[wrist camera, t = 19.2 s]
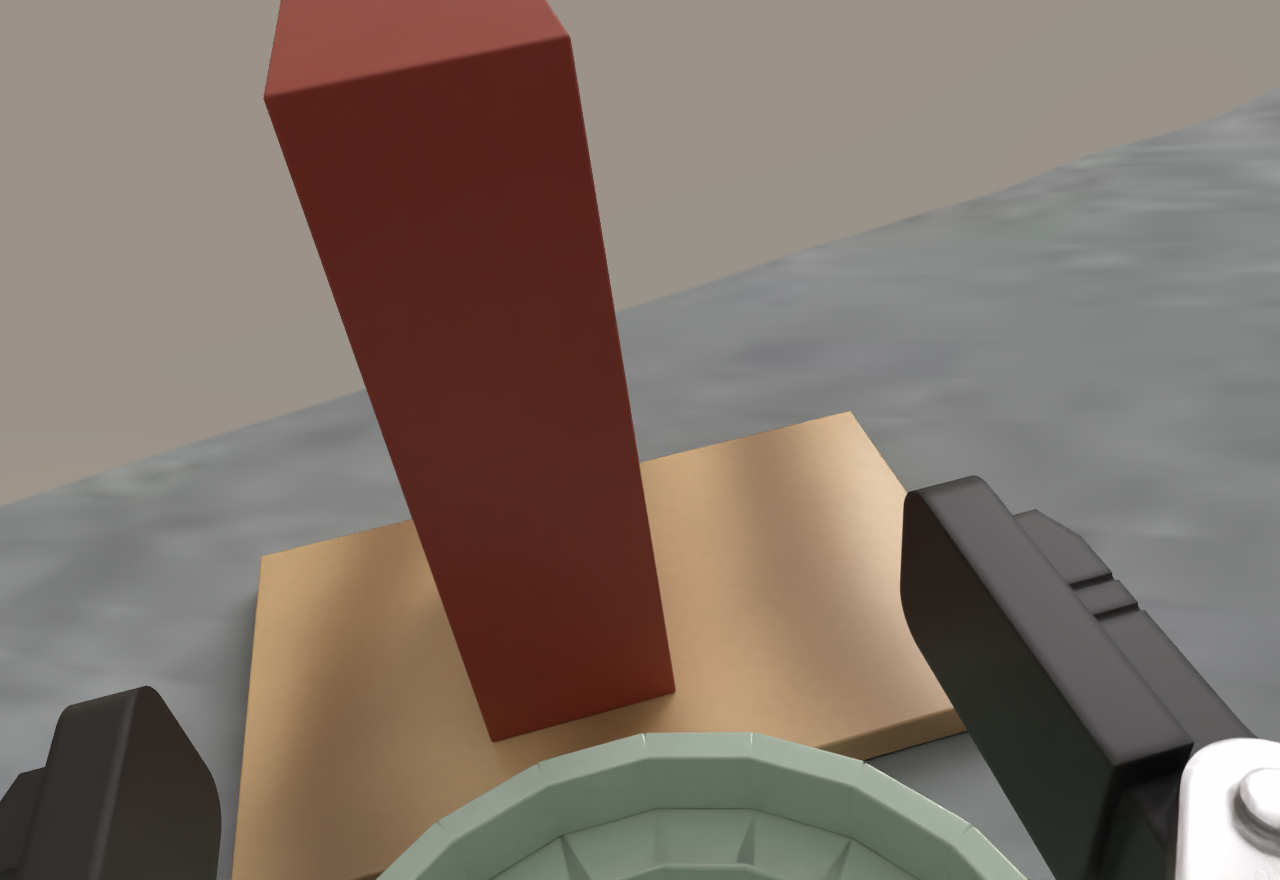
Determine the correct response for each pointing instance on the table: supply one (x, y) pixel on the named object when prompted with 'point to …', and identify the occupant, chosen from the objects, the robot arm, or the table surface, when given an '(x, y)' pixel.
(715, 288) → the table surface
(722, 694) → the board
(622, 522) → the red rectangular block
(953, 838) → the bowl
